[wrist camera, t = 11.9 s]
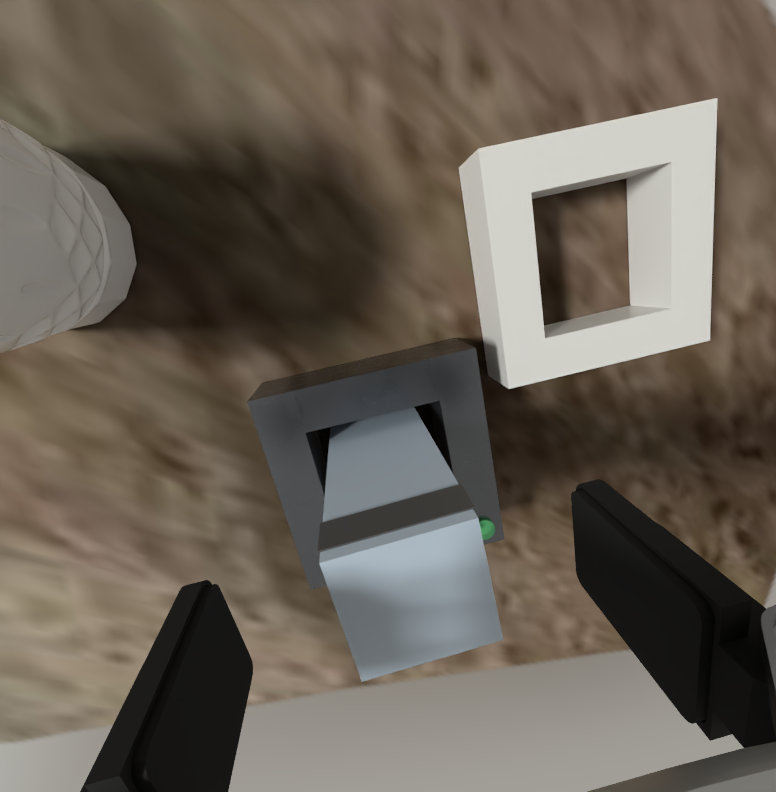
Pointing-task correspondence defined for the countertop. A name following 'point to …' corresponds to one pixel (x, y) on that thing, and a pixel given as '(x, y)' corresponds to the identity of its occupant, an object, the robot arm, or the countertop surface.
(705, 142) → the holster
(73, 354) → the countertop surface
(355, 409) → the port
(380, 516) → the plug
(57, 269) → the white cup
